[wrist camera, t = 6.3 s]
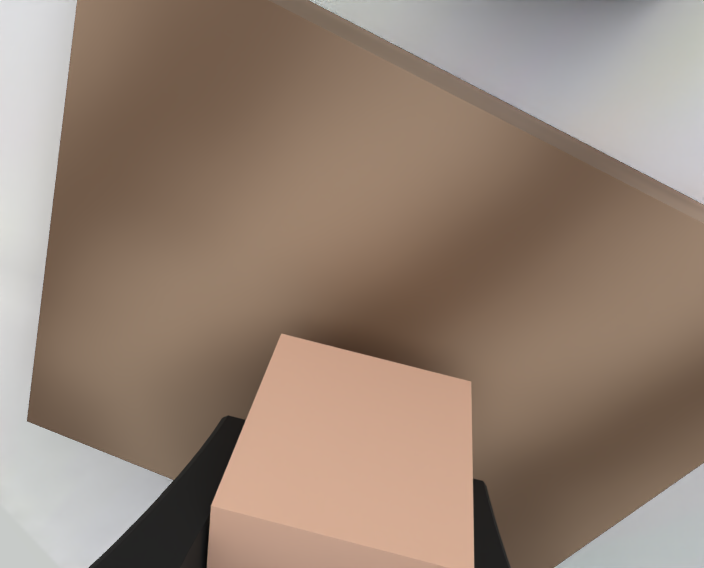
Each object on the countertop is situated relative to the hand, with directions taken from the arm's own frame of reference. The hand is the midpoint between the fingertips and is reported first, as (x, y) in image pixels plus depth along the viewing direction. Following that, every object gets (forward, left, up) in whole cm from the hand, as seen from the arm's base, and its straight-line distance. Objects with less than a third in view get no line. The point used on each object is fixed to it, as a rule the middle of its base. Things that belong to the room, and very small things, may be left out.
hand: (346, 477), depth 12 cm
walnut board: (0, 0, -4) cm, 4 cm away
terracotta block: (0, 0, -2) cm, 2 cm away
